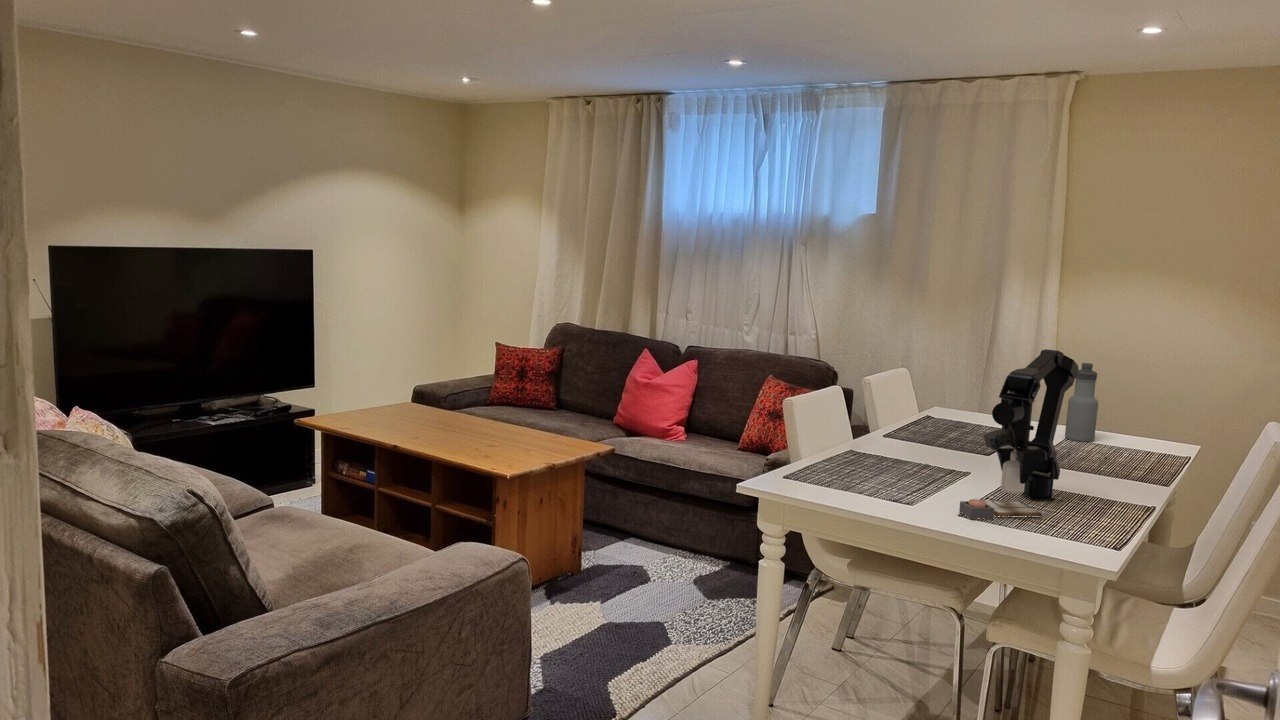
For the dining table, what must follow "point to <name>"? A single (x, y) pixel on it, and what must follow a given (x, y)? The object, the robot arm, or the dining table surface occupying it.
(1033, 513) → the board
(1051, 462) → the robot arm
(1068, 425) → the water bottle
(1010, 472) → the eye dropper bottle
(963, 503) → the button housing
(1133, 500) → the dining table surface
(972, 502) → the button
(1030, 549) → the dining table surface
